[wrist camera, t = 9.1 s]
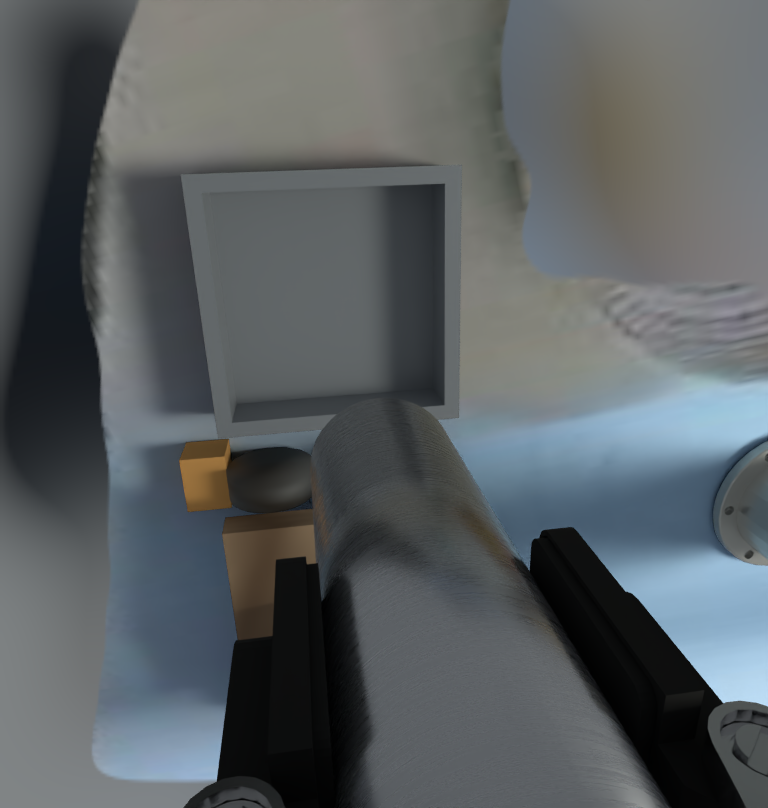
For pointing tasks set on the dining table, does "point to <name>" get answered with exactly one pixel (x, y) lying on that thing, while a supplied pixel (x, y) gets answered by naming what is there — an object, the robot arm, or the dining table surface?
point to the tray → (326, 291)
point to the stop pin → (447, 638)
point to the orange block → (206, 474)
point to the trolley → (265, 530)
